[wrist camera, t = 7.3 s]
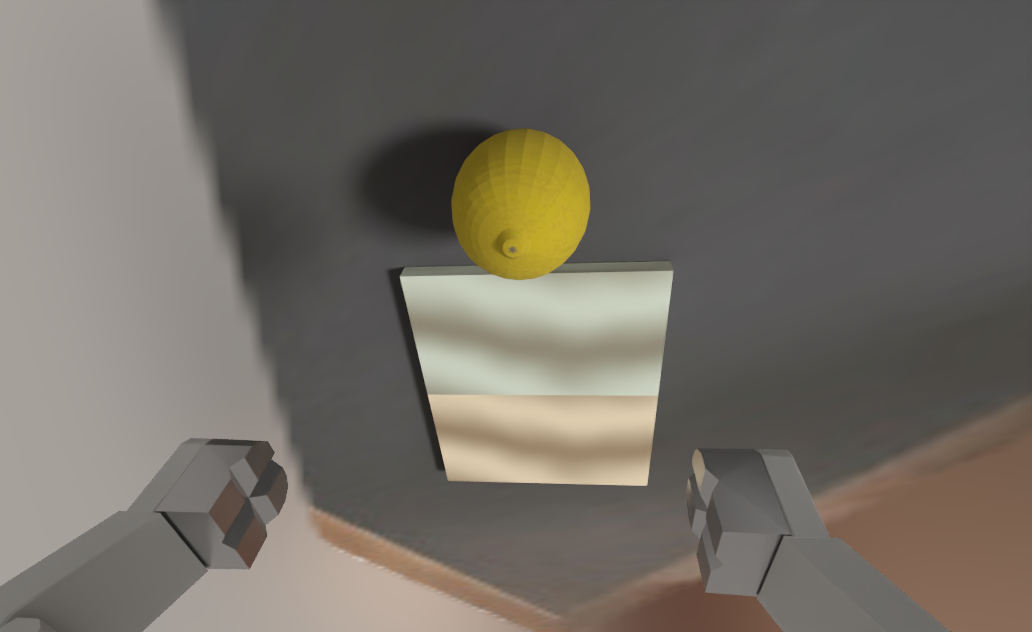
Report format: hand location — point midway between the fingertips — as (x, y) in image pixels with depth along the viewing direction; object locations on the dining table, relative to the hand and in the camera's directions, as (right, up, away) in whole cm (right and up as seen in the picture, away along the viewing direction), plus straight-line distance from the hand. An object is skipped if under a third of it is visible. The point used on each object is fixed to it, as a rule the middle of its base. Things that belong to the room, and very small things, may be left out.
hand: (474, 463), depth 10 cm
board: (+2, -1, +21) cm, 22 cm away
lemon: (+1, +10, +14) cm, 17 cm away
